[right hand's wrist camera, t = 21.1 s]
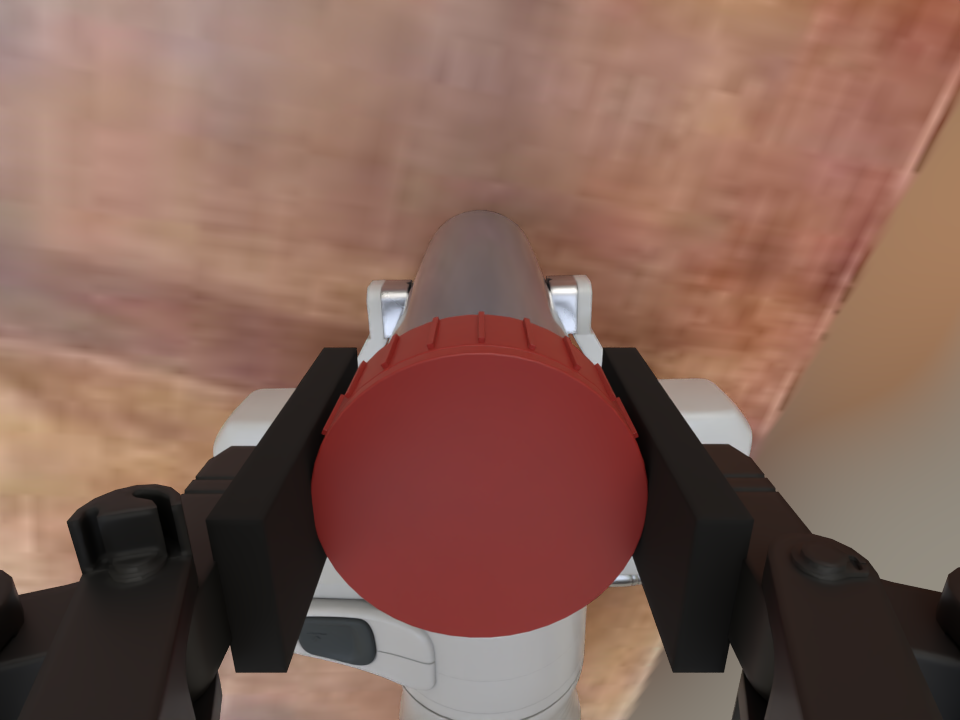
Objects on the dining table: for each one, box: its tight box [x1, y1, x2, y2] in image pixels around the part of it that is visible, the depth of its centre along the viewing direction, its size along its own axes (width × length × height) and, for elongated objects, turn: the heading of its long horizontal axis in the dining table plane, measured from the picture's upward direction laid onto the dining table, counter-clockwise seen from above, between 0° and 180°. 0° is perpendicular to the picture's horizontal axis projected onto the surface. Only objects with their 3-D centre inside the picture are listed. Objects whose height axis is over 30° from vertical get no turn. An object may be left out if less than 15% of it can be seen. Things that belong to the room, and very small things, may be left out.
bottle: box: [388, 210, 569, 343], centre depth 20 cm, size 5×5×18 cm
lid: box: [311, 311, 648, 638], centre depth 11 cm, size 6×6×2 cm
